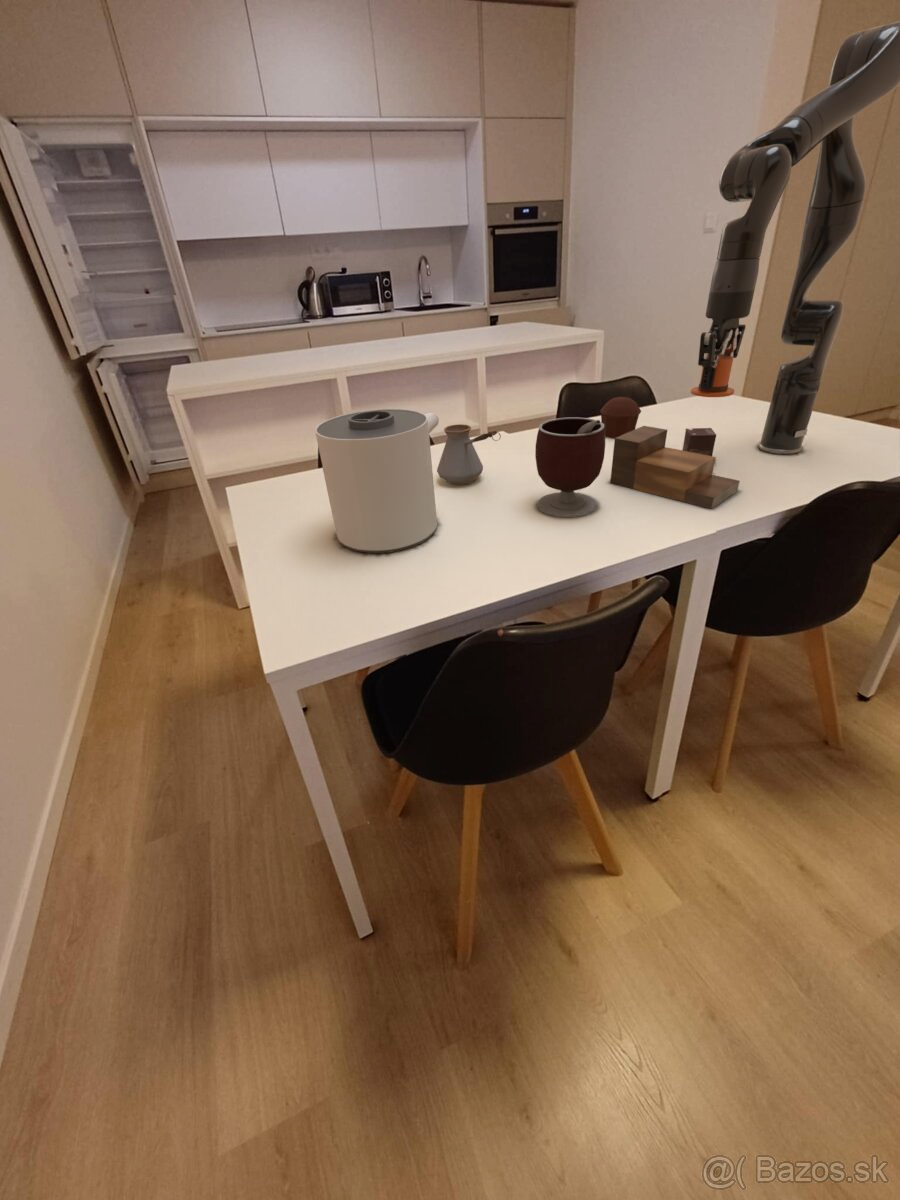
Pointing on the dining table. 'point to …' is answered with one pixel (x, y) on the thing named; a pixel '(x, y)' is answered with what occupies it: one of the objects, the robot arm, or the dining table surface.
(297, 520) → the dining table surface
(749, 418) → the dining table surface
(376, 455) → the humidifier
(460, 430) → the coffee pot
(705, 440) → the box
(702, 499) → the stand
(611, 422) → the muffin
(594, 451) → the mate gourd
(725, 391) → the hat
